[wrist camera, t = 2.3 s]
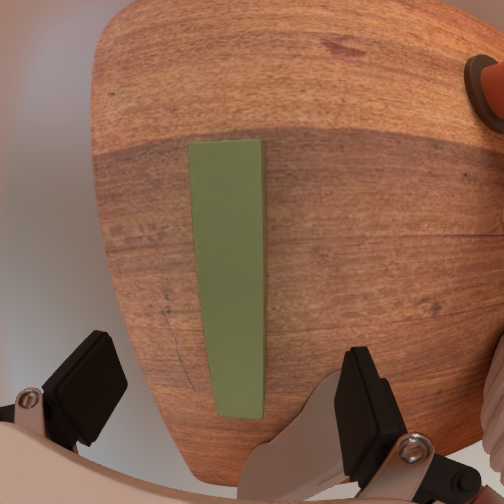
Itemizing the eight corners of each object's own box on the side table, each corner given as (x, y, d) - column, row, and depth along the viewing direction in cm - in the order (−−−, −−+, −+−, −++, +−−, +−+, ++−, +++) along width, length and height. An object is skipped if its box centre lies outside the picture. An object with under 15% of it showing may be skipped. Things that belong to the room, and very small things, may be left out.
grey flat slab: (259, 463, 24) (253, 522, 16) (240, 458, 24) (231, 519, 16) (372, 353, 17) (406, 444, 10) (348, 345, 17) (377, 443, 9)
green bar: (226, 377, 19) (217, 416, 15) (210, 147, 14) (187, 142, 10) (266, 379, 19) (263, 420, 15) (265, 145, 14) (262, 138, 10)
